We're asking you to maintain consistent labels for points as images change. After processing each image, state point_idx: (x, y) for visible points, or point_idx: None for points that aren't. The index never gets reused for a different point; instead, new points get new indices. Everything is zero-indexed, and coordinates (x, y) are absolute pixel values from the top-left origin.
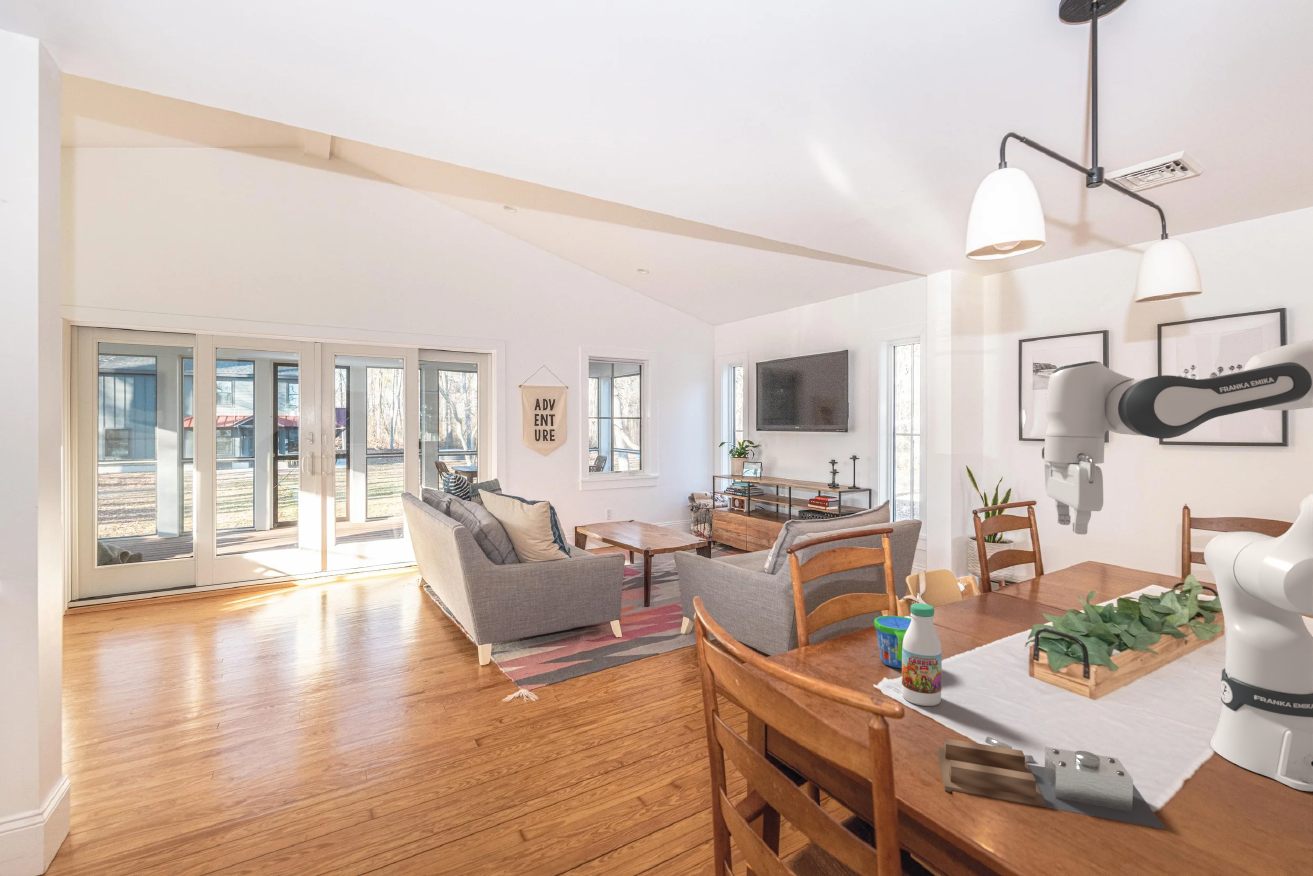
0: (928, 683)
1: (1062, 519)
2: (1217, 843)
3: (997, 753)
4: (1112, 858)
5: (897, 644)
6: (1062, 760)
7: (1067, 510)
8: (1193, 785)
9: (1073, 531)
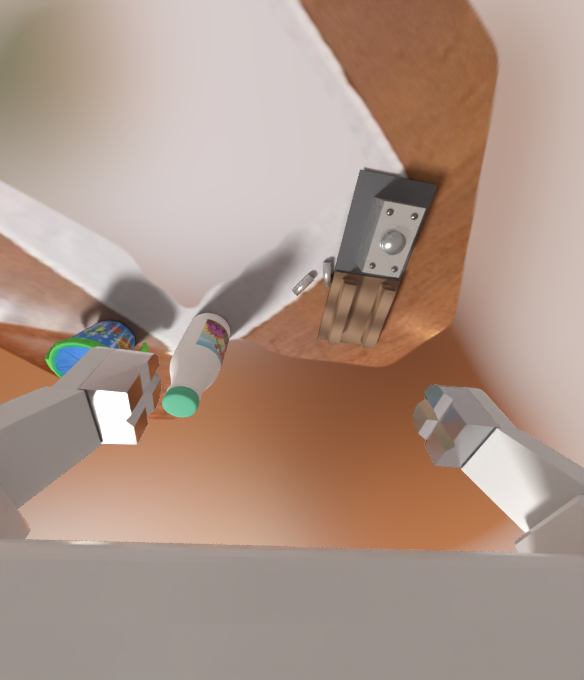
0: (226, 341)
1: (145, 407)
2: (457, 137)
3: (349, 307)
4: (458, 254)
5: None
6: (388, 266)
7: (35, 425)
8: (359, 76)
9: (419, 421)
